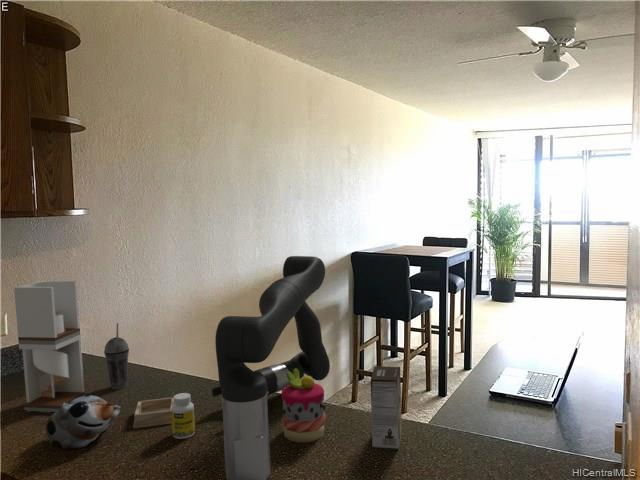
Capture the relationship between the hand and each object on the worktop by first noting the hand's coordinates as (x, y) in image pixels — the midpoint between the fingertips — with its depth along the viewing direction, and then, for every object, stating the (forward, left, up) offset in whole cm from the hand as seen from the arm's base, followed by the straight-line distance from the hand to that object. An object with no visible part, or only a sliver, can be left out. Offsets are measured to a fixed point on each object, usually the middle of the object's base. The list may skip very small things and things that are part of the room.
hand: (221, 396), depth 133 cm
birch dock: (+7, +17, -6) cm, 20 cm away
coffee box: (-23, -37, -6) cm, 44 cm away
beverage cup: (+34, +30, -6) cm, 46 cm away
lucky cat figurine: (0, +33, -6) cm, 34 cm away
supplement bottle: (-6, +10, -6) cm, 13 cm away
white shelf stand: (+25, +46, -6) cm, 53 cm away
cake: (-14, -19, -6) cm, 24 cm away
